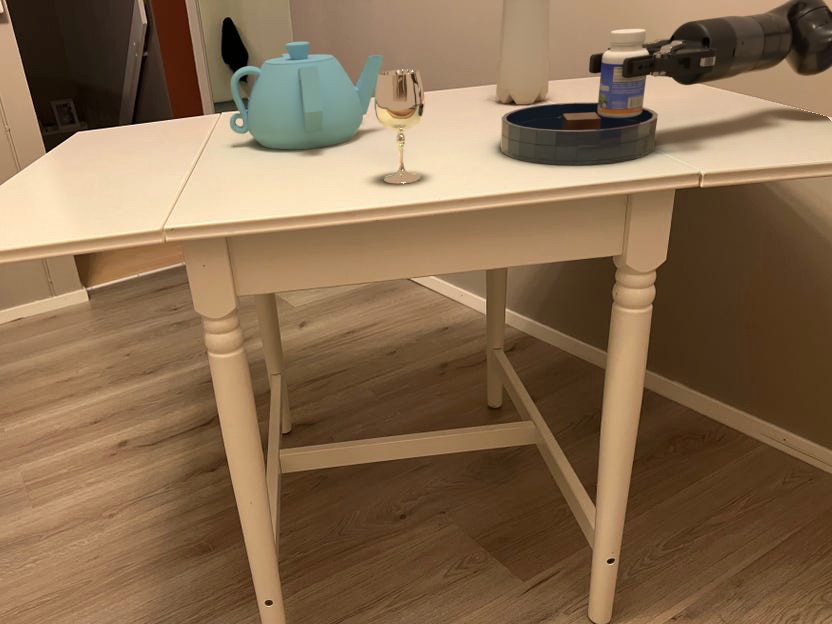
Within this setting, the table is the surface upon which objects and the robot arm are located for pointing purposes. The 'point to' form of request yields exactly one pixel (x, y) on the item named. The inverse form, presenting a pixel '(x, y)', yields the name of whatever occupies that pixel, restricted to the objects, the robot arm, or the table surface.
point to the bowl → (575, 136)
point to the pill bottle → (615, 90)
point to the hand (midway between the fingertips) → (608, 66)
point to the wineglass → (399, 110)
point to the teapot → (303, 100)
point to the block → (581, 121)
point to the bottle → (524, 52)
